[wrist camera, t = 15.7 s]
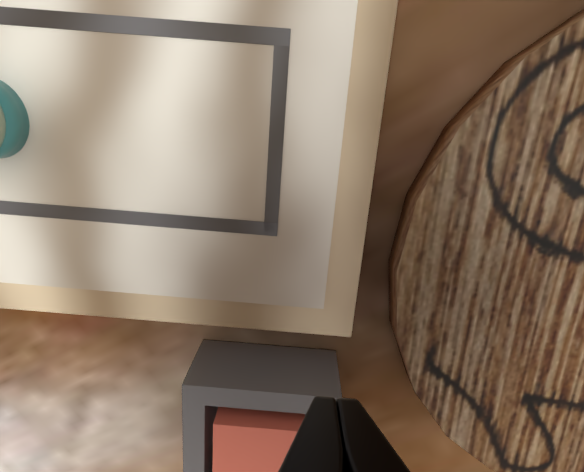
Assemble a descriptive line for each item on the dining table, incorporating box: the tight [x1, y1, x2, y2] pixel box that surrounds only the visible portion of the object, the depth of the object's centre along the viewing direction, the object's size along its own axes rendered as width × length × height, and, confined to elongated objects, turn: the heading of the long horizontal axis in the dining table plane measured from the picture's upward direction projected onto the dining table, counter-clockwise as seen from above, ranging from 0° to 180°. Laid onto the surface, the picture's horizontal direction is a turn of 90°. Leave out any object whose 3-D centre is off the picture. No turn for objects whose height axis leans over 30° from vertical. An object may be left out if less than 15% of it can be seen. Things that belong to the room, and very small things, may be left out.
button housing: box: [182, 340, 342, 472], centre depth 19 cm, size 7×7×4 cm
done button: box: [212, 407, 305, 472], centre depth 18 cm, size 4×4×3 cm
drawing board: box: [0, 0, 398, 337], centre depth 16 cm, size 24×18×1 cm
